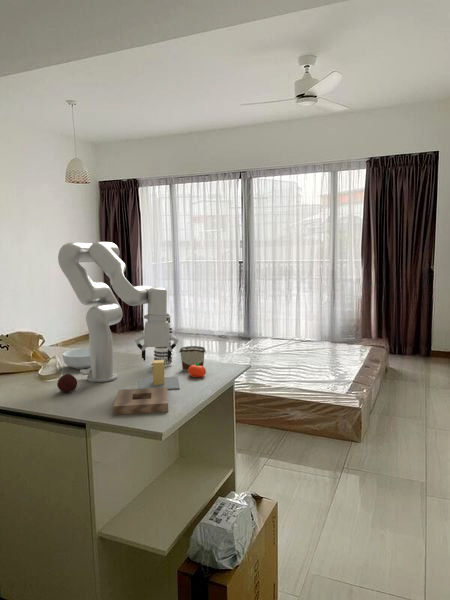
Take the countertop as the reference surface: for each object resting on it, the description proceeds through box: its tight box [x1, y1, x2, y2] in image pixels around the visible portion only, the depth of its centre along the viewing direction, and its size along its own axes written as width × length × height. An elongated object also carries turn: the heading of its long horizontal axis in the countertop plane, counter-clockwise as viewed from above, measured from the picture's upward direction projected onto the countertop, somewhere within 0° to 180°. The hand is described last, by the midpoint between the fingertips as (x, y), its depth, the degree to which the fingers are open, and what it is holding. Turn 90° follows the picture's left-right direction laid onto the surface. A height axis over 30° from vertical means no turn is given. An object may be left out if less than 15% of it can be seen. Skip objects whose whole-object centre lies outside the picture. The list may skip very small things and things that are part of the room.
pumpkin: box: [187, 363, 207, 378], centre depth 190 cm, size 7×8×6 cm
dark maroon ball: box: [56, 373, 78, 394], centre depth 169 cm, size 7×8×7 cm
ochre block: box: [152, 359, 165, 385], centre depth 178 cm, size 4×4×9 cm
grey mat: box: [137, 376, 180, 391], centre depth 179 cm, size 16×16×1 cm
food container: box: [178, 345, 207, 371], centre depth 203 cm, size 12×6×10 cm, turn 84°
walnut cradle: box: [112, 387, 169, 416], centre depth 155 cm, size 18×18×3 cm
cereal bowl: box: [62, 348, 90, 370], centre depth 208 cm, size 17×17×7 cm
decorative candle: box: [153, 312, 173, 368], centre depth 209 cm, size 9×9×25 cm
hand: (156, 359), depth 178 cm, fingers open, 9 cm apart
